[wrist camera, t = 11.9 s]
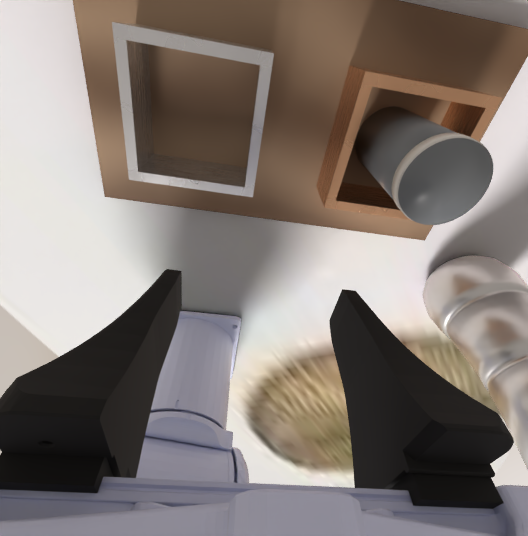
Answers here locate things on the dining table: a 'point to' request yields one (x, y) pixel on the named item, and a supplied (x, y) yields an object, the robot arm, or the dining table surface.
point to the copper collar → (349, 118)
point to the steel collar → (140, 113)
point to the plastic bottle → (487, 330)
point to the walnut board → (282, 92)
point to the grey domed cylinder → (424, 165)
